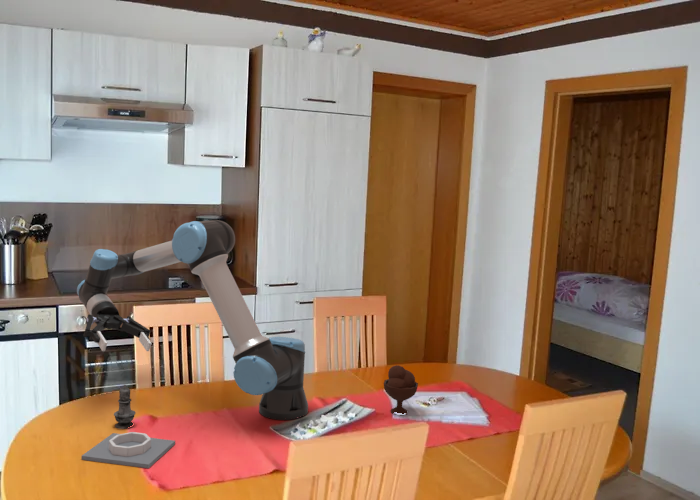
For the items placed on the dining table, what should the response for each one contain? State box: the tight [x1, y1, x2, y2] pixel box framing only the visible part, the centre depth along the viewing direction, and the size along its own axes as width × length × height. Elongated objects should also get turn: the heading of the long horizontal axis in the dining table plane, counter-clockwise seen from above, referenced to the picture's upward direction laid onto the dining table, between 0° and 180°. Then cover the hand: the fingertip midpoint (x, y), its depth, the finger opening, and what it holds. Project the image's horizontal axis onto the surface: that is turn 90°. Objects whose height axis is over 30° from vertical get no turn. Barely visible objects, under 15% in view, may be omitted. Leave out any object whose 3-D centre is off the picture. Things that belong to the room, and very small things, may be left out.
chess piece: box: [113, 384, 136, 430], centre depth 187 cm, size 6×6×12 cm
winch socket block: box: [81, 431, 176, 469], centre depth 170 cm, size 18×15×3 cm
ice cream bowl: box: [383, 364, 419, 415], centre depth 207 cm, size 11×11×15 cm
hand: (127, 347), depth 192 cm, fingers open, 13 cm apart
